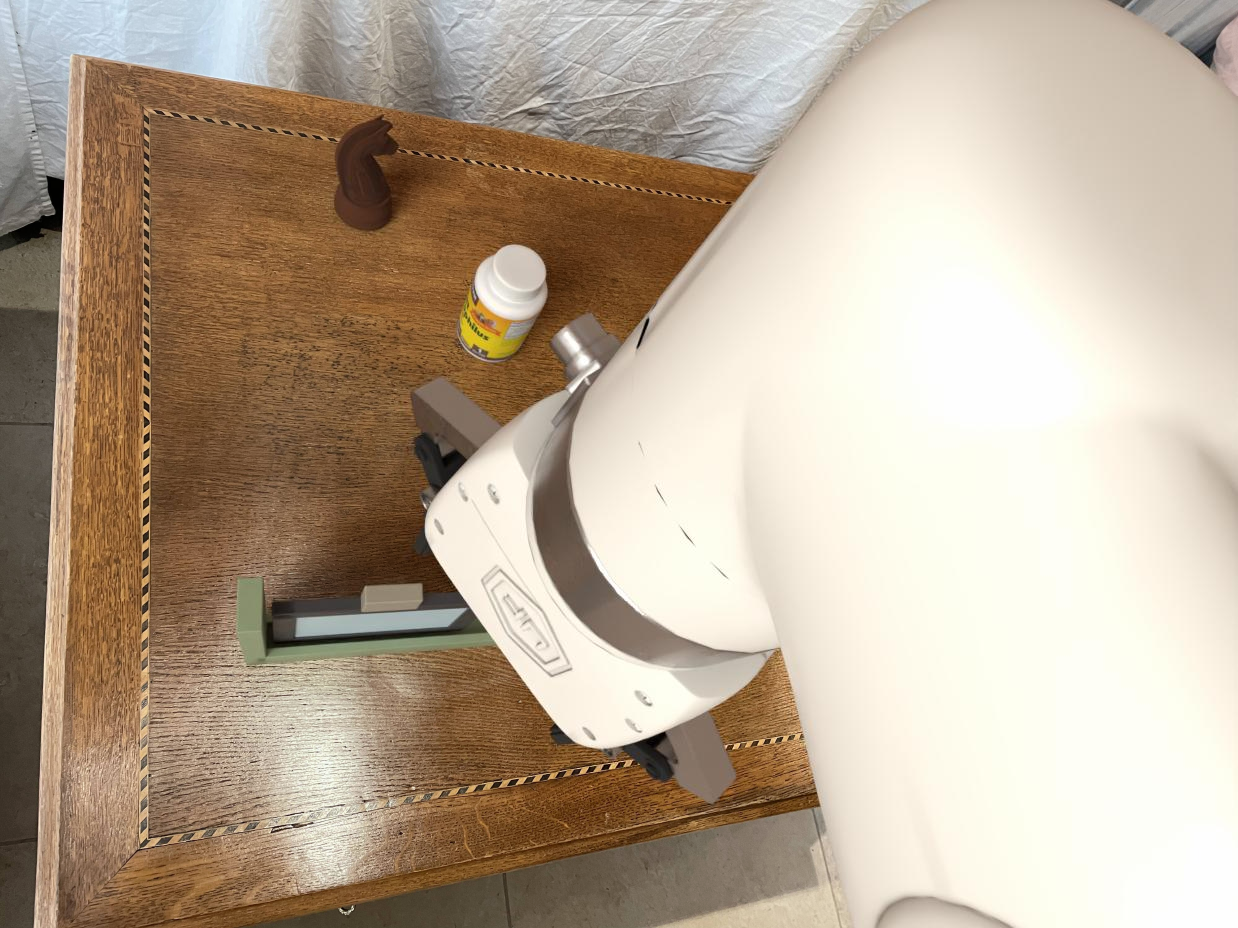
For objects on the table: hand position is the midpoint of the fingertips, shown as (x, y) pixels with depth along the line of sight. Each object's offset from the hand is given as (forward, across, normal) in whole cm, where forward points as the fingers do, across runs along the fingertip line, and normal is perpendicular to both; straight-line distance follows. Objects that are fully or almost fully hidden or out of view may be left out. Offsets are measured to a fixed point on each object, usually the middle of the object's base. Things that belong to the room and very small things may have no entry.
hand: (512, 622), depth 34 cm
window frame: (+24, -2, +4) cm, 24 cm away
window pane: (+22, -5, -1) cm, 22 cm away
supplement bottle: (+24, -20, +20) cm, 37 cm away
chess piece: (+24, -34, +18) cm, 45 cm away
